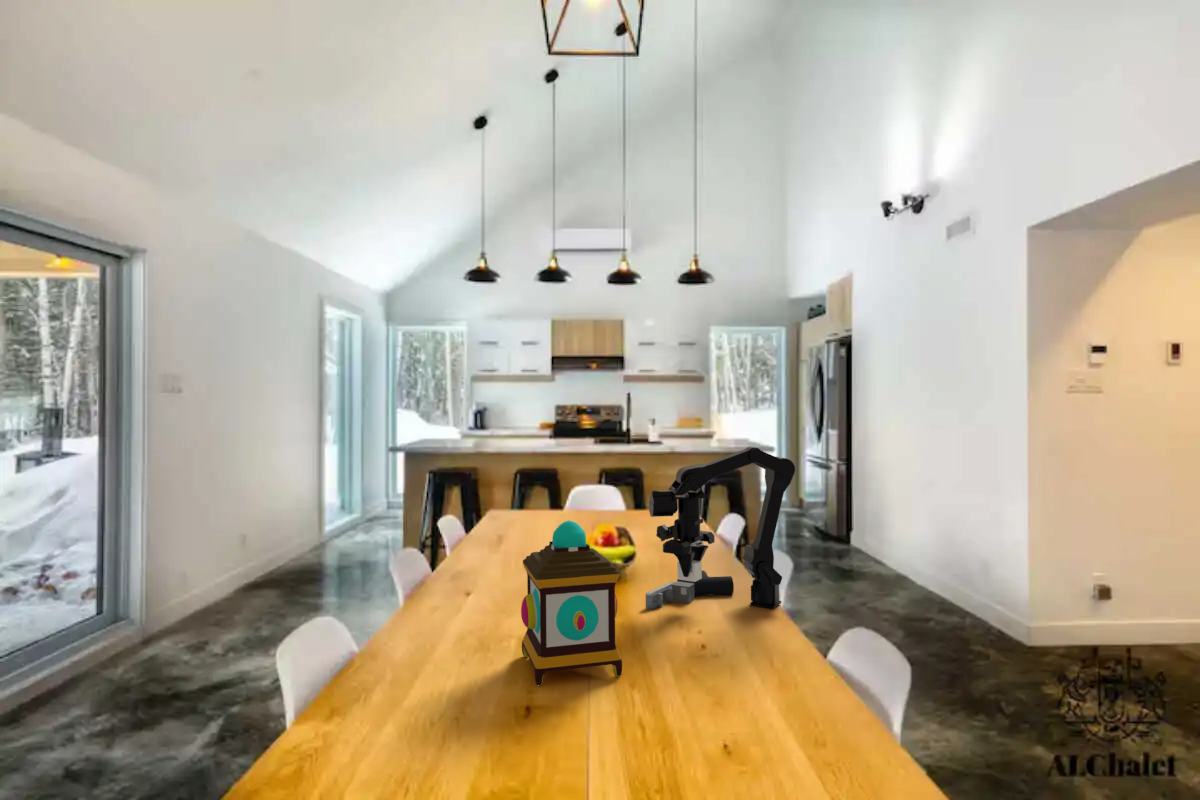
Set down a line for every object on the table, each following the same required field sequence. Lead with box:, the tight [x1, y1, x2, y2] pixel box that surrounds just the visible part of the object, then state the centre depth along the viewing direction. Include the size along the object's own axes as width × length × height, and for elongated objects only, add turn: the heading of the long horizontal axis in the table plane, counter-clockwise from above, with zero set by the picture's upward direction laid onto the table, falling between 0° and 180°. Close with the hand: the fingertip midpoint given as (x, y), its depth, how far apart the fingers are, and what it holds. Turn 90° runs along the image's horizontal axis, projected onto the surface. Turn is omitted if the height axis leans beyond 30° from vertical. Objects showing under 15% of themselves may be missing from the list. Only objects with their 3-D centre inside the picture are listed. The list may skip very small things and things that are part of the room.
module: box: [676, 560, 703, 582], centre depth 181 cm, size 5×4×4 cm
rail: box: [645, 581, 676, 611], centre depth 186 cm, size 3×14×4 cm, turn 146°
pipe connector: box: [676, 570, 735, 597], centre depth 198 cm, size 12×5×15 cm
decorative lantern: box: [520, 520, 623, 687], centre depth 142 cm, size 20×20×30 cm
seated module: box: [672, 580, 696, 604], centre depth 189 cm, size 5×4×4 cm
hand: (689, 575), depth 181 cm, fingers closed on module, 4 cm apart
